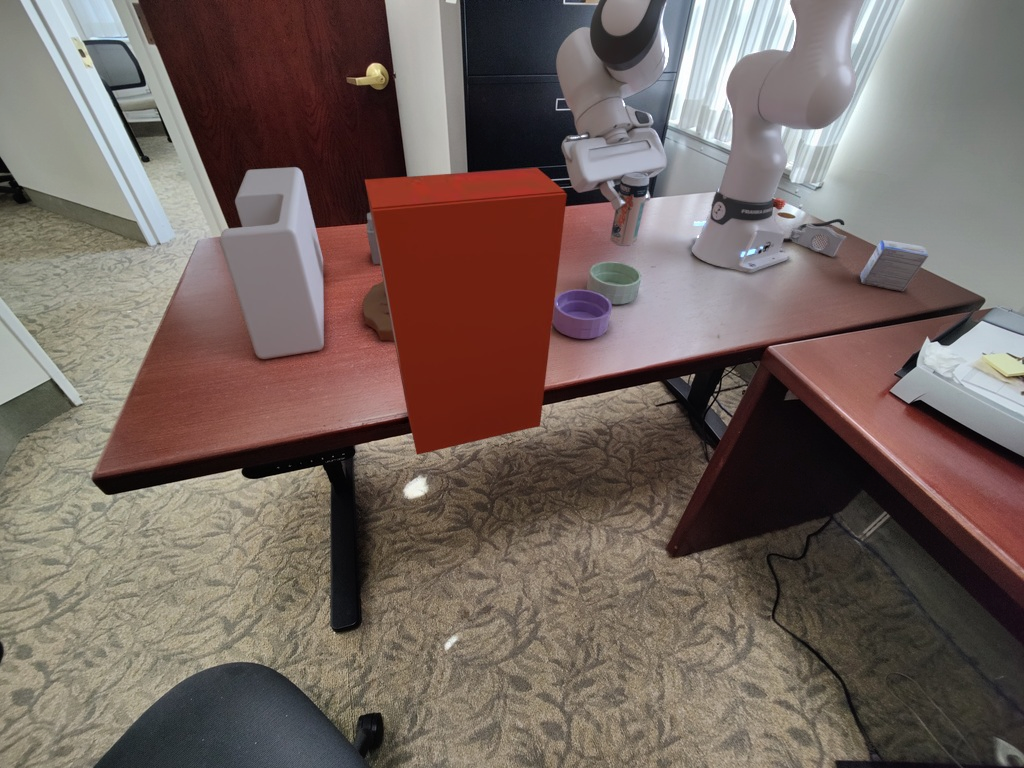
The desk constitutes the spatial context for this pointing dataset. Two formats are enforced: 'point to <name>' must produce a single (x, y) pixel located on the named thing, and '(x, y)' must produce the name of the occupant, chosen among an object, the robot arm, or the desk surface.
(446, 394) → the red tall rectangular block
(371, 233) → the power adapter
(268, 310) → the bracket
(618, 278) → the celadon bowl
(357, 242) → the desk surface
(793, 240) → the grey grilled flat device
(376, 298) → the plant
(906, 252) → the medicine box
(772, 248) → the robot arm
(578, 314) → the lavender bowl
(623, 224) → the white cylindrical canister
